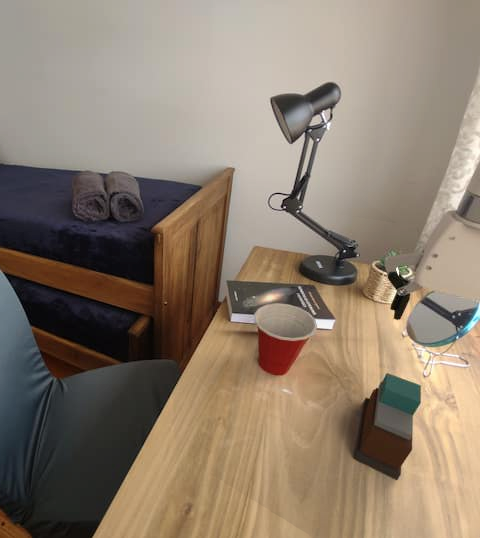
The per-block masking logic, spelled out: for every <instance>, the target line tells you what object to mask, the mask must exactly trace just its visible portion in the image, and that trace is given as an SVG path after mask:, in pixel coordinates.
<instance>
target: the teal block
mask: <svg viewBox="0 0 480 538" xmlns="http://www.w3.org/2000/svg"><path fill="white" fill-rule="evenodd" d="M377 388H378V395H377V402H376V410H375V417H374V425H375V426H378V427H380V428H382V429H385V430H387V431H389V432H391V433H394V434H396V435H398V436H401V437H403V438H405V439H407V440H410V439H411V437H412V438H413V435H414V434H413V431H414V415H415V413H416V412H417V410H418V409H419V407H420V406H421V404H422V385H421V384H418V383H417V382H413V381H410V380H409V379H405V378H403V377H399V376H396V375H394V374H391V373H389V372H386V374H385V376H384V378H383V379H382V381H380V382H379V385H378V387H377Z"/></svg>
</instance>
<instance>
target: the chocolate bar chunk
mask: <svg viewBox="0 0 480 538" xmlns="http://www.w3.org/2000/svg"><path fill="white" fill-rule="evenodd" d="M377 395H378V387H376V388H374V389H373V390H372V392H371V394H370V396H369V397H365V398H364V400H363V402H362V407H361V414H360V419H359V425H358V430H357V437H356V442H355V449H354V454H353V460H355V461H356V462H359V463H360V464H363V465H365V466H367V467H368V468H371V469H373V470H375V471H376V472H377V471H378V472H379V473H381V474H383V475H385V476H387V477H389V478H392V479H393V480H395V481H398V480H399V478H400V477H401V475H402V466H403V464H404V463H405V461H406V460H407V458H408V457H409V455H410V454H411V452H412V450H413V436H412V437H411V439H410V440H407V439H405V438H403V437H401V436H398V435H396V434H394V433H391V432H389V431H387V430H385V429H382V428H380V427H378V426H375V425H374V417H375V410H376V402H377Z"/></svg>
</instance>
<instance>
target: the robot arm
mask: <svg viewBox="0 0 480 538" xmlns="http://www.w3.org/2000/svg"><path fill="white" fill-rule="evenodd" d="M383 264H384V268H385V272H386V274H387V275H386V276H387V279H388V281H389V282H390V284H391V285H392V286H393V287H394V289H395V290H396V293H395V295H394V297H393V299H392V301H391V304H390V306H389V307H390V308H389V309H390V310H391V311H393V320H396V321H399V320H401V319H402V318H403V317H402V316H403V315H404V312H405V311H406V308H407V306H408V304H409V302H410V299H411V293H414V292H416V291H419V290H423V289H425V290H428V291H432V292H435V293H440V294H444V295H447V296H450V297H451V296H452V297H455V298H460V299H464V300H468V301H471V302H475V303H480V160H478V163H477V165H476V167H475V170H474V172H473V174H472V176H471V178H470V180H469V182H468V183H467V186H466V188H465V191H464V193H463V195H462V197H461V199H460V201H459V204H458V205H457V208H456V209H451V210H447V211H446V212H445V213H444V215H443V216H442V217H441V218H440V219H439V221H438V223H437V224H436V225H435V227H434V229H433V230H432V231H431V233H430V235H429V237H428V239H427V240H426V242H425V243H424V245H423V248H422V250H421V251H416V252H409V253H408V252H407V253H402V254H395V255H388V256H386V257H384V261H383ZM413 265H414V267H413V272H414V273H412V274H410V275H408V276H407V275H406V276H405V277H404V276H403V275H402V274H401V273H400V271H399V269H398V268H399V267H405V266H413Z"/></svg>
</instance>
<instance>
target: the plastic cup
mask: <svg viewBox="0 0 480 538" xmlns="http://www.w3.org/2000/svg"><path fill="white" fill-rule="evenodd" d="M253 318H254V323H255V325H256V328H257V347H258V348H257V349H258V365H259V367H260V368H261V369H262V370H263V371H264V372H265V373H267V374H270V375H271V376H272V375H273V376H284V375H286V374H288V372H289V371H290V370H291V368H292V366H293V364H295V363H296V360H297V359H298V357H299V355H300V353H301V352H302V350H303V348H304V346H305V345H306V344H307V342H308V340H309V339H310V338H311V337H312V336H314V334H315V332H316V330H317V329H318V324H317V321H316V319H315V317H314V316H313V315H312V314H311V313H310V312H308V311H306V310H305V309H303V308H301V307H299V306H295V305H293V304H288V303H277V302H276V303H268V304H263V305H262V306H260V307H258V308H257V310H255V312H254V313H253Z"/></svg>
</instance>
